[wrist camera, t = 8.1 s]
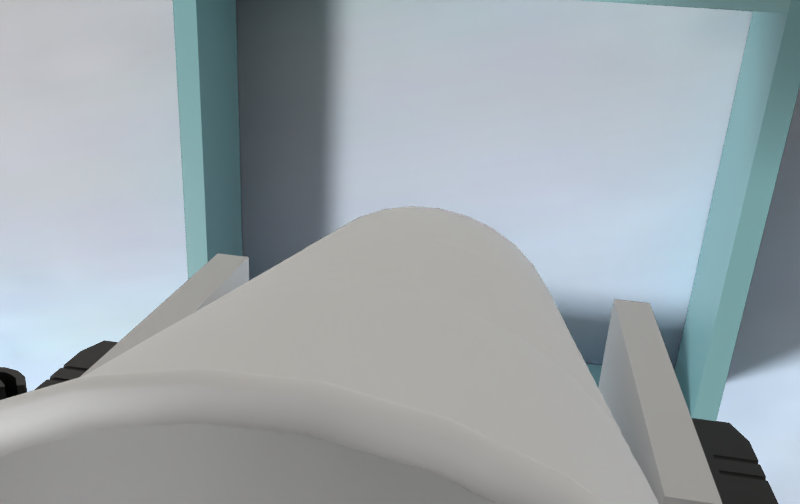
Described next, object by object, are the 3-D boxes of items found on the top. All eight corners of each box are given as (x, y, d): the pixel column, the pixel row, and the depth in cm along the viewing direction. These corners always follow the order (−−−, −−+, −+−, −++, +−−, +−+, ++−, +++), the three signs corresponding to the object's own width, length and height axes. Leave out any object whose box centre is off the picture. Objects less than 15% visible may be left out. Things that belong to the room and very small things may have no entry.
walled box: (213, -50, 27) (169, -53, 23) (785, -17, 24) (824, -15, 21) (227, 334, 32) (193, 374, 29) (690, 394, 30) (709, 445, 26)
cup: (656, 105, 15) (947, 403, 4) (634, 512, 18) (771, 1208, 8) (189, 123, 16) (-370, 367, 6) (249, 492, 20) (-47, 1041, 10)
